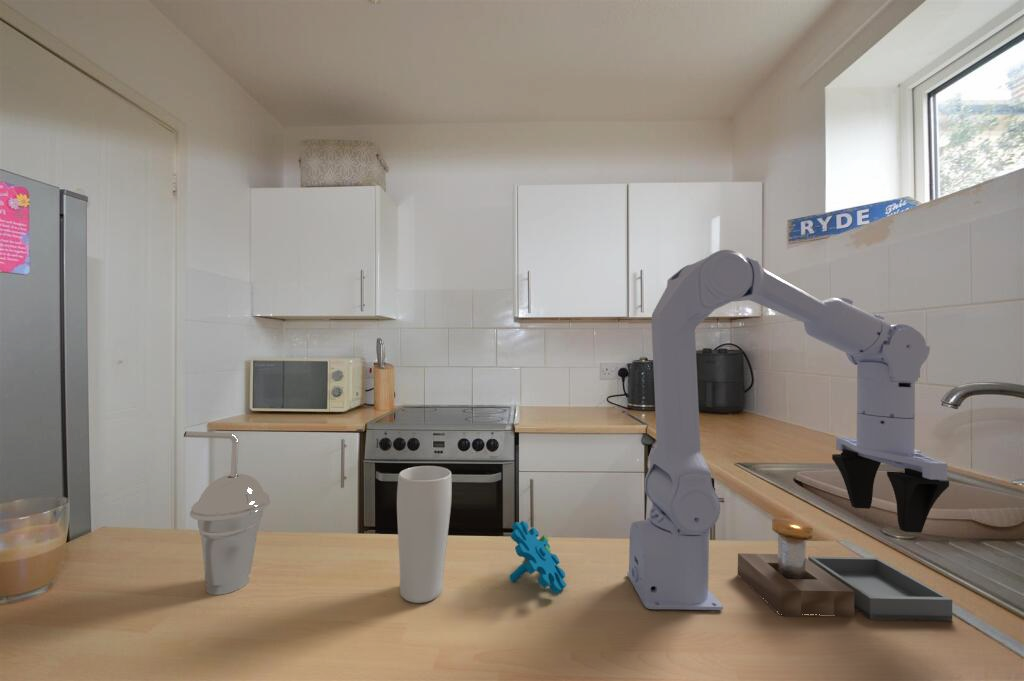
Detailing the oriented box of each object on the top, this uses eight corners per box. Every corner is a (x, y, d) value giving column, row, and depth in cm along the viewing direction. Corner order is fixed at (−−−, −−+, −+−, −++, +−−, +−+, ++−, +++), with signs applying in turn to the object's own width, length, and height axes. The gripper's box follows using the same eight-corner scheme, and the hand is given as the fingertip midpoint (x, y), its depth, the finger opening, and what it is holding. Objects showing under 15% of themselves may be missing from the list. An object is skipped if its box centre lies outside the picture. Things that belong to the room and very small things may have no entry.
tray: (870, 619, 49) (870, 598, 49) (808, 574, 59) (808, 556, 59) (952, 620, 49) (952, 599, 49) (876, 575, 59) (876, 557, 59)
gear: (563, 600, 49) (509, 528, 52) (526, 631, 49) (475, 558, 52) (575, 567, 59) (530, 509, 62) (545, 593, 59) (501, 534, 63)
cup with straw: (256, 598, 50) (264, 432, 50) (166, 611, 47) (175, 434, 48) (274, 563, 58) (280, 420, 58) (197, 572, 55) (205, 422, 56)
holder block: (780, 615, 49) (780, 590, 49) (737, 574, 58) (737, 553, 58) (854, 616, 50) (854, 591, 50) (800, 575, 59) (800, 554, 59)
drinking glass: (458, 586, 54) (462, 470, 54) (427, 615, 48) (431, 484, 48) (416, 573, 56) (420, 462, 57) (381, 599, 50) (386, 475, 51)
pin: (786, 604, 52) (786, 531, 52) (764, 584, 56) (764, 517, 56) (820, 604, 52) (821, 532, 52) (795, 584, 56) (796, 518, 56)
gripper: (975, 426, 47) (975, 545, 47) (870, 408, 62) (869, 500, 62) (911, 423, 48) (911, 542, 47) (822, 407, 62) (821, 497, 62)
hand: (884, 518), depth 54 cm, fingers open, 7 cm apart
